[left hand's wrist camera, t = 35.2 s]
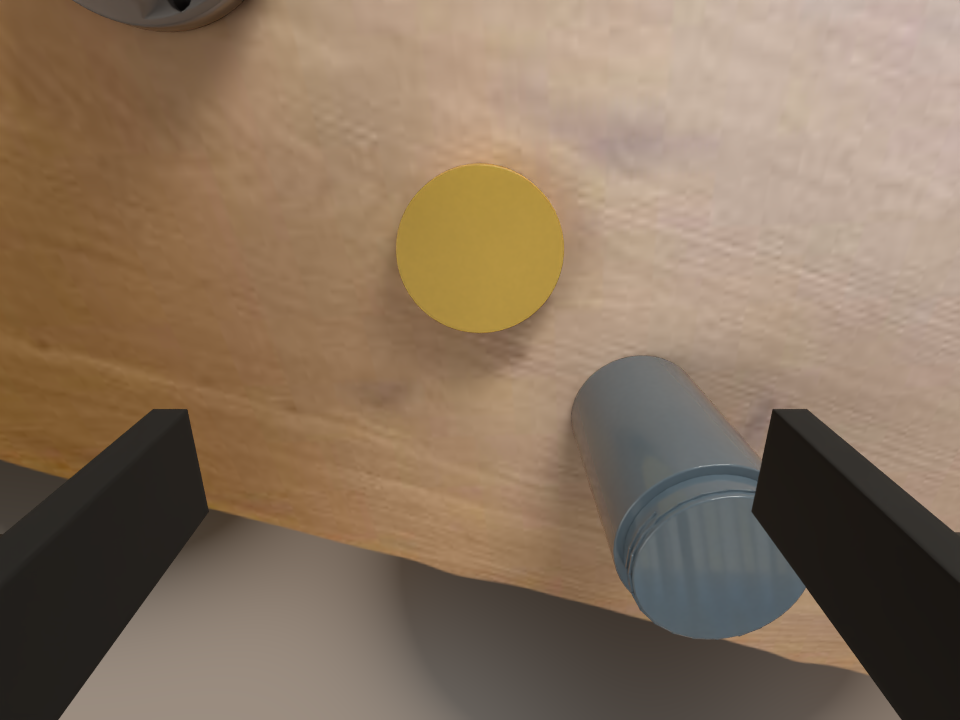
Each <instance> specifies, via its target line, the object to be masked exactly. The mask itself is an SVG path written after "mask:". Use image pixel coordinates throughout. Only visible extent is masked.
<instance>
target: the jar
mask: <svg viewBox="0 0 960 720" xmlns="http://www.w3.org/2000/svg"><path fill="white" fill-rule="evenodd" d="M571 423H572V430H573V434H574V437H575V440H576V444H577V447H578V450H579V453H580V456H581V459H582V463H583V466H584V469H585V472H586V475H587V479H588V482H589V485H590V488H591V491H592V494H593V498H594V501H595V504H596V507H597V510H598V514H599V517H600V520H601V523H602V526H603V529H604V533H605V536H606V539H607V542H608V545H609V548H610V552H611V555H612V558H613V561H614V564H615V568H616V571H617V573H618V575H619V577H620V579H621V581H622V583H623V584H624V586H625V587H626V588H627V589H628V590H629V592H630V593H631V594H632V596H633V598H634V599H635V601H636V603H637V605H638V607H639V609H640V610H641V611H642V612H643V613H644V614H645V615H646V616H647V617H648V618H649V619H650V620H651V621H652V622H654V624H656V625H658V626H660V627H662V628H664V629H666V630H668V631H670V632H672V633H674V634H678V635H682V636H686V637H691V638H693V639H715V640H717V639H723V638H730V637H735V636H742V635H744V634H747V633H749V632H752V631H755V630H757V629H760V628H762V627H763V626H765V625H767V624H769V623H771V622H772V621H774V620H775V619H777V618H778V617H780V616H781V615H782V614H784V613H785V612H786V611H787V610H788V609H789V608H790V607H791V606H792V605H793V604H794V603H795V602H796V601H797V600H798V599H799V597H800V596H801V595H802V593H803V592H804V590H805V588H806V587H805V585H804V584H803V583H802V581H801V580H800V578H799V577H798V576H797V574H796V573H795V571H794V570H793V569H792V567H791V566H790V565H789V563H788V562H787V560H786V559H785V558H784V556H783V555H782V554H781V552H780V551H779V549H778V548H777V547H776V545H775V544H774V542H773V541H772V540H771V538H770V537H769V536H768V534H767V533H766V531H765V530H764V529H763V527H762V526H761V524H760V523H759V522H758V520H757V519H756V518H755V516H754V515H753V513H752V512H751V510H752V506H753V501H754V496H755V491H756V487H757V482H758V477H759V472H760V468H761V463H762V459H761V458H760V456H759V455H758V454H757V453H756V452H755V451H754V450H753V448H752V447H751V446H750V445H749V444H748V443H747V442H746V440H745V439H744V438H743V437H742V436H741V435H740V434H739V432H738V431H737V430H736V429H735V428H734V427H733V426H732V424H731V423H730V422H729V421H728V420H727V419H726V418H725V416H724V415H723V414H722V413H721V412H720V411H719V410H718V408H717V407H716V406H715V405H714V404H713V403H712V402H711V400H710V399H709V398H708V397H707V396H706V395H705V394H704V392H703V391H702V390H701V389H700V388H699V387H698V386H697V384H696V383H695V382H694V381H693V380H692V379H691V378H690V376H689V375H688V374H687V373H686V372H685V371H684V370H683V369H681V368H680V367H679V366H677V365H675V364H674V363H672V362H670V361H667V360H665V359H662V358H658V357H653V356H632V357H626V358H622V359H619V360H616V361H614V362H611V363H609V364H607V365H605V366H604V367H602V368H601V369H599V370H598V371H596V372H595V373H594V374H593V375H592V376H591V377H589V379H588V380H587V381H586V382H585V383H584V384H583V386H582V387H581V389H580V390H579V392H578V394H577V396H576V398H575V401H574V404H573V408H572V414H571Z"/></svg>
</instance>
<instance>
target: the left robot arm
mask: <svg viewBox="0 0 960 720" xmlns="http://www.w3.org/2000/svg"><path fill="white" fill-rule="evenodd" d="M73 1H75V2H76V3H78V4H80V5H81V6H83V7H85V8H87V9H88V10H90V11H92V12H95V13H97V14H99V15H101V16H104V17H106V18H109V19H112V20H115V21H118V22H121V23H124V24H127V25H130V26H134V27H138V28H142V29H146V30H152V31H162V32H176V31H186V30H191V29H196V28H199V27H202V26H205V25H208V24H210V23H212V22H214V21H217V20H219V19H220V18H222V17H224V16H225V15H227V14H228V13H230V12H231V11H232V10H234V9H235V8H236V7H237V6H239V5H240V4H241V3H242V2H243V1H244V0H73ZM208 512H209V510H208V506H207V501H206V496H205V491H204V487H203V482H202V477H201V472H200V468H199V463H198V458H197V453H196V448H195V444H194V439H193V434H192V429H191V425H190V420H189V415H188V410H187V409H153V410H152V411H150V412H149V413H148V414H147V415H146V416H144V417H143V418H142V419H141V420H140V421H138V422H137V423H136V424H135V425H134V426H132V427H131V428H130V429H129V430H128V431H126V432H125V433H124V434H123V435H122V436H120V437H119V438H118V439H117V440H116V441H114V442H113V443H112V444H111V445H110V446H108V447H107V448H106V449H105V450H104V451H102V452H101V453H100V454H99V455H98V456H96V457H95V458H94V459H93V460H92V461H90V462H89V463H88V464H87V465H86V466H84V467H83V468H82V469H81V470H80V471H78V472H77V473H76V474H75V475H74V476H72V477H71V478H70V479H69V480H68V481H67V482H65V483H64V484H63V485H62V486H61V487H59V488H58V489H57V490H56V491H54V492H53V493H52V494H51V495H50V496H48V497H47V498H46V499H45V500H44V501H42V502H41V503H40V504H39V505H38V506H36V507H35V508H34V509H33V510H32V511H31V512H29V513H28V514H27V515H26V516H24V517H23V518H22V519H21V520H20V521H18V522H17V523H16V524H15V525H14V526H13V527H11V528H10V529H9V530H8V531H7V532H5V533H4V534H0V720H58V719H59V718H60V717H61V715H62V714H63V713H64V711H65V710H66V708H67V707H68V706H69V704H70V703H71V701H72V700H73V699H74V697H75V696H76V694H77V693H78V692H79V690H80V689H81V688H82V686H83V685H84V683H85V682H86V681H87V679H88V678H89V677H90V675H91V674H92V672H93V671H94V670H95V668H96V667H97V666H98V664H99V663H100V661H101V660H102V659H103V657H104V656H105V654H106V653H107V652H108V650H109V649H110V648H111V646H112V645H113V643H114V642H115V641H116V639H117V638H118V636H119V635H120V634H121V632H122V631H123V630H124V628H125V627H126V625H127V624H128V623H129V621H130V620H131V618H132V617H133V616H134V614H135V613H136V612H137V610H138V609H139V607H140V606H141V605H142V603H143V602H144V601H145V599H146V598H147V596H148V595H149V594H150V592H151V591H152V589H153V588H154V587H155V585H156V584H157V583H158V581H159V580H160V578H161V577H162V576H163V574H164V573H165V571H166V570H167V569H168V567H169V566H170V565H171V563H172V562H173V560H174V559H175V558H176V556H177V555H178V553H179V552H180V551H181V549H182V548H183V547H184V545H185V544H186V542H187V541H188V540H189V538H190V537H191V535H192V534H193V533H194V531H195V530H196V529H197V527H198V526H199V524H200V523H201V522H202V520H203V519H204V518H205V516H206V515H207V513H208ZM751 512H752V513H753V515H754V516H755V518H756V519H757V520H758V522H759V523H760V524H761V526H762V527H763V529H764V530H765V531H766V533H767V534H768V536H769V537H770V538H771V540H772V541H773V542H774V544H775V545H776V547H777V548H778V549H779V551H780V552H781V554H782V555H783V556H784V558H785V559H786V560H787V562H788V563H789V565H790V566H791V567H792V569H793V570H794V571H795V573H796V574H797V576H798V577H799V578H800V580H801V581H802V583H803V584H804V585H805V587H806V588H807V589H808V591H809V592H810V594H811V595H812V596H813V598H814V599H815V601H816V602H817V603H818V605H819V606H820V607H821V609H822V610H823V612H824V613H825V614H826V616H827V617H828V618H829V620H830V621H831V623H832V624H833V625H834V627H835V628H836V630H837V631H838V632H839V634H840V635H841V636H842V638H843V639H844V641H845V642H846V643H847V645H848V646H849V648H850V649H851V650H852V652H853V653H854V654H855V656H856V657H857V659H858V660H859V661H860V663H861V664H862V666H863V667H864V668H865V670H866V671H867V672H868V674H869V675H870V677H871V678H872V679H873V681H874V682H875V683H876V685H877V686H878V688H879V689H880V690H881V692H882V693H883V695H884V696H885V697H886V699H887V700H888V701H889V703H890V704H891V706H892V707H893V708H894V710H895V711H896V713H897V714H898V715H899V717H900V718H901V719H902V720H960V532H954V531H952V530H951V529H950V528H949V527H948V526H946V525H945V524H944V523H943V522H942V521H940V520H939V519H938V518H937V517H936V516H934V515H933V514H932V513H931V512H930V511H928V510H927V509H926V508H925V507H924V506H922V505H921V504H920V503H919V502H918V501H916V500H915V499H914V498H913V497H912V496H910V495H909V494H908V493H907V492H906V491H904V490H903V489H902V488H901V487H900V486H898V485H897V484H896V483H895V482H894V481H892V480H891V479H890V478H889V477H888V476H886V475H885V474H884V473H883V472H882V471H880V470H879V469H878V468H877V467H876V466H874V465H873V464H872V463H871V462H870V461H868V460H867V459H866V458H865V457H864V456H862V455H861V454H860V453H859V452H858V451H856V450H855V449H854V448H853V447H852V446H850V445H849V444H848V443H847V442H846V441H844V440H843V439H842V438H841V437H840V436H838V435H837V434H836V433H835V432H834V431H832V430H831V429H830V428H829V427H828V426H826V425H825V424H824V423H823V422H822V421H820V420H819V419H818V418H817V417H816V416H814V415H813V414H812V413H811V412H810V411H808V410H807V409H773V410H772V415H771V420H770V425H769V429H768V434H767V439H766V444H765V448H764V453H763V458H762V463H761V468H760V472H759V477H758V482H757V487H756V491H755V496H754V501H753V506H752V510H751Z"/></svg>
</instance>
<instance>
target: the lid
mask: <svg viewBox="0 0 960 720" xmlns="http://www.w3.org/2000/svg"><path fill="white" fill-rule="evenodd" d="M396 257H397V265H398V269H399V273H400V276H401V279H402V281H403V284H404V286H405V288H406V289H407V291H408V293H409V295H410V296H411V297H412V299H413V300H414V302H415V303H416V304H417V305H418V306H419V307H420V308H421V309H422V310H423V311H424V312H425V313H426V314H428V315H429V316H430V317H431V318H433V319H435V320H436V321H438V322H439V323H441V324H443V325H446V326H448V327H450V328H453V329H456V330H460V331H465V332H471V333H489V332H495V331H500V330H504V329H507V328H510V327H512V326H514V325H517V324H519V323H521V322H522V321H524V320H525V319H527V318H529V317H530V316H531V315H532V314H534V313H535V312H536V311H537V310H538V309H539V308H540V307H541V306H542V305H543V304H544V303H545V301H546V300H547V299H548V297H549V296H550V295H551V293H552V291H553V289H554V288H555V286H556V283H557V281H558V278H559V276H560V273H561V269H562V265H563V257H564V241H563V234H562V229H561V225H560V222H559V219H558V217H557V215H556V212H555V210H554V208H553V207H552V205H551V203H550V202H549V200H548V199H547V198H546V197H545V195H544V194H543V193H542V192H541V191H540V190H539V189H538V188H537V187H536V186H535V185H534V184H533V183H532V182H531V181H529V180H528V179H526V178H525V177H524V176H522V175H520V174H519V173H517V172H515V171H513V170H510V169H508V168H505V167H502V166H498V165H493V164H483V163H478V164H467V165H462V166H458V167H455V168H452V169H449V170H447V171H445V172H443V173H441V174H439V175H438V176H436V177H435V178H434V179H432V180H431V181H429V182H428V183H427V184H426V185H425V186H424V187H423V188H422V189H421V190H420V191H419V192H418V193H417V194H416V195H415V196H414V198H413V199H412V200H411V202H410V203H409V205H408V207H407V208H406V210H405V212H404V214H403V217H402V219H401V222H400V225H399V229H398V233H397V240H396Z"/></svg>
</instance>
